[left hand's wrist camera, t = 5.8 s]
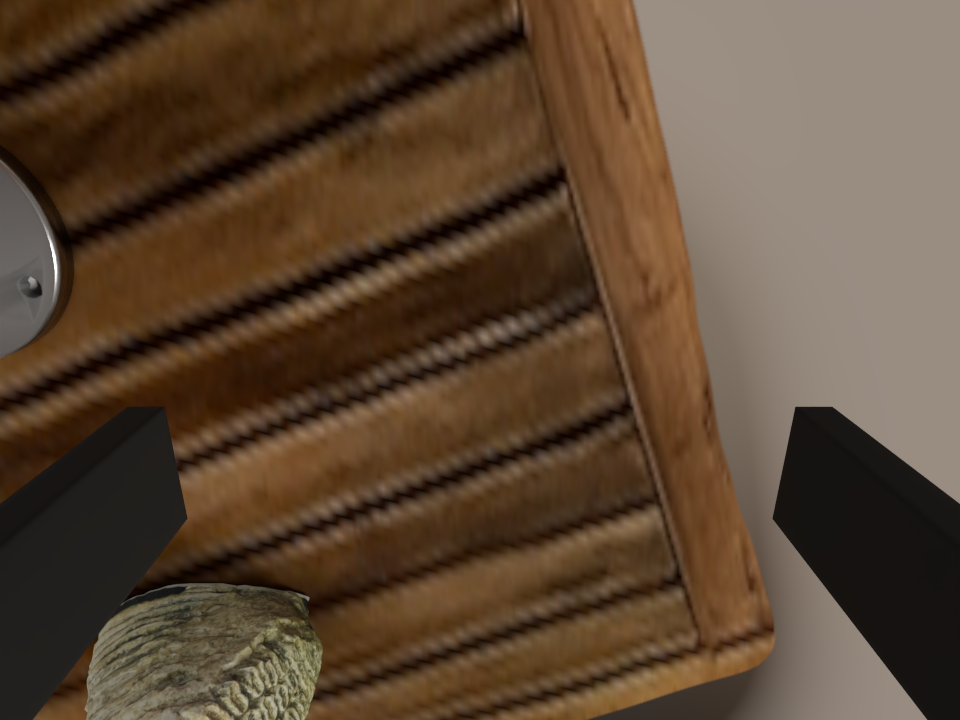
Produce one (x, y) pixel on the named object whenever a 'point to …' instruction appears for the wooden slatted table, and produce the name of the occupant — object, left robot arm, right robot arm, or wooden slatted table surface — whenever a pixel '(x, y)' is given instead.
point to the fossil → (206, 656)
